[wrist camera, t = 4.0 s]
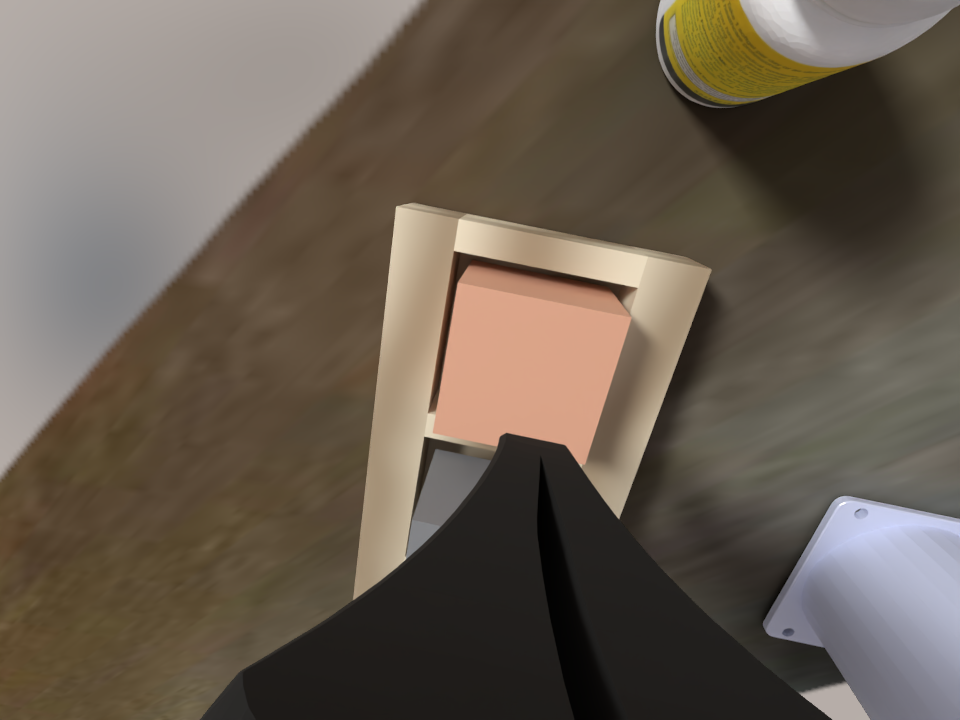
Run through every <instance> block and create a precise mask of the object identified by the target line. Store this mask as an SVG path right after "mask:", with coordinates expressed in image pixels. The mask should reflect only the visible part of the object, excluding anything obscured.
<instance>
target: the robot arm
mask: <svg viewBox="0 0 960 720" xmlns="http://www.w3.org/2000/svg"><path fill="white" fill-rule="evenodd" d="M858 509H860V510H859V511H858V512H856V511H857V510H858ZM763 627H764V629H765V631H766V633H767V634H768V635H770V636H772V637H777V638H781V639H786V640H791V641H795V642H800V643H805V644H809V645H814V646H819V647H824V648H825V649H826V650H827V652H828V654H829V655H830V657H831V658H832V660H833V661H834V663H835V665H836V666H837V668H838V669H839V671H840V672H841V674H842V676H843V677H844V679H845V680H846V682H847V683H848V685H849V686H850V688H851V690H852V691H853V693H854V694H855V696H856V697H857V699H858V701H859V702H860V704H861V705H862V707H863V708H864V710H865V712H866V713H867V715H868V716H869V718H870V719H871V720H960V519H957V518H953V517H948V516H943V515H938V514H933V513H928V512H924V511H919V510H914V509H909V508H904V507H899V506H895V505H890V504H885V503H880V502H875V501H871V500H866V499H861V498H856V497H851V496H842V497H838V498H837V499H835V500H834V501H833V502H832V504H831V505H830V507H829V509H828V511H827V512H826V514H825V516H824V517H823V519H822V521H821V523H820V524H819V526H818V528H817V530H816V531H815V533H814V535H813V536H812V538H811V540H810V542H809V543H808V545H807V547H806V549H805V550H804V552H803V554H802V556H801V557H800V559H799V561H798V562H797V564H796V566H795V568H794V569H793V571H792V573H791V575H790V576H789V578H788V580H787V582H786V583H785V585H784V587H783V588H782V590H781V592H780V594H779V595H778V597H777V599H776V601H775V602H774V604H773V606H772V607H771V609H770V611H769V613H768V614H767V616H766V618H765V620H764V621H763ZM200 720H832V719H831V718H829V717H828V716H827V715H826V714H824V713H823V712H822V711H821V710H819V709H818V708H817V707H815V706H814V705H813V704H812V703H810V702H809V701H808V700H806V699H805V698H804V697H803V696H801V695H800V694H799V693H797V692H796V691H795V690H794V689H792V688H791V687H790V686H789V685H788V684H786V683H785V682H784V681H783V680H781V679H780V678H779V677H778V676H777V675H775V674H774V673H773V672H772V671H771V670H769V669H768V668H767V667H766V666H764V665H763V664H762V663H761V662H760V661H759V660H757V659H756V658H755V657H754V656H753V655H752V654H750V653H749V652H748V651H747V650H746V649H745V648H744V647H743V646H741V645H740V644H739V643H738V642H737V641H736V640H735V639H734V638H732V637H731V636H730V635H729V634H728V633H727V632H726V631H725V630H723V629H722V628H721V627H720V626H719V625H718V624H717V623H715V622H714V621H713V620H712V619H711V618H710V617H709V616H708V615H707V614H706V613H705V612H704V611H703V610H702V609H701V608H700V607H698V606H697V605H696V604H695V603H694V602H693V601H692V600H691V599H690V598H689V597H688V596H687V595H686V594H685V593H684V592H683V591H682V590H681V588H680V587H679V586H678V585H677V584H676V583H675V582H674V581H673V580H672V579H671V578H670V577H669V576H668V575H667V574H666V573H665V572H664V571H663V570H662V569H661V568H660V567H659V566H658V565H657V564H656V563H655V561H654V560H653V559H652V558H651V557H650V556H649V555H648V554H647V553H646V551H645V550H644V549H643V548H642V547H641V545H640V544H639V543H638V542H637V541H636V540H635V538H634V537H633V536H632V535H631V534H630V532H629V531H628V530H627V529H626V528H625V526H624V525H623V524H622V523H621V521H620V520H619V519H618V518H617V516H616V515H615V514H614V512H613V511H612V510H611V509H610V507H609V506H608V505H607V503H606V502H605V501H604V499H603V498H602V497H601V495H600V494H599V492H598V491H597V490H596V488H595V487H594V485H593V484H592V483H591V481H590V480H589V478H588V477H587V475H586V474H585V473H584V471H583V470H582V468H581V467H580V465H579V464H578V462H577V461H576V459H575V458H574V456H573V455H572V453H571V452H570V451H569V449H568V448H567V446H566V445H563V444H558V443H553V442H549V441H544V440H539V439H534V438H529V437H525V436H520V435H515V434H510V433H505V434H503V435H501V436H500V438H499V442H498V446H497V450H496V452H495V454H494V456H493V458H492V460H491V462H490V464H489V465H488V467H487V468H486V470H485V471H484V473H483V474H482V476H481V478H480V479H479V481H478V482H477V484H476V485H475V486H474V488H473V489H472V490H471V492H470V493H469V494H468V495H467V497H466V498H465V499H464V500H463V502H462V503H461V504H460V505H459V507H458V508H457V509H456V510H455V512H454V513H453V514H452V515H451V516H450V517H449V518H448V519H447V520H446V522H445V523H444V524H443V525H442V526H441V527H440V528H439V529H438V530H437V531H436V532H435V533H434V534H433V535H432V536H431V537H430V538H429V539H428V540H427V541H426V542H425V543H424V544H423V545H422V546H421V547H419V548H418V549H417V550H416V551H415V552H414V553H413V554H411V555H410V556H409V557H408V558H407V559H406V560H405V561H404V562H402V563H401V564H400V565H399V566H398V567H397V568H395V569H394V570H393V571H392V572H391V573H389V574H388V575H387V576H386V577H384V578H383V579H382V580H381V581H379V582H378V583H377V584H375V585H374V586H372V587H371V588H370V589H368V590H367V591H365V592H364V593H363V594H361V595H360V596H359V597H357V598H356V599H354V600H353V601H352V602H350V603H349V604H347V605H346V606H345V607H343V608H342V609H341V610H339V611H338V612H336V613H335V614H334V615H332V616H331V617H329V618H328V619H326V620H324V621H323V622H321V623H320V624H318V625H317V626H315V627H314V628H312V629H310V630H309V631H307V632H305V633H304V634H302V635H300V636H299V637H297V638H295V639H294V640H292V641H290V642H289V643H287V644H285V645H284V646H282V647H280V648H279V649H277V650H275V651H274V652H272V653H270V654H269V655H267V656H265V657H264V658H262V659H260V660H259V661H257V662H256V663H254V664H252V665H250V666H249V667H247V668H245V669H244V670H242V671H240V672H239V673H238V674H237V675H236V677H235V678H234V679H233V680H232V681H231V682H230V684H229V685H228V686H227V687H226V688H225V690H224V691H223V692H222V693H221V694H220V696H219V697H218V698H217V699H216V700H215V702H214V703H213V704H212V705H211V707H210V708H209V709H208V710H207V711H206V713H205V714H204V715H203V717H202V718H201V719H200Z"/></svg>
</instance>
